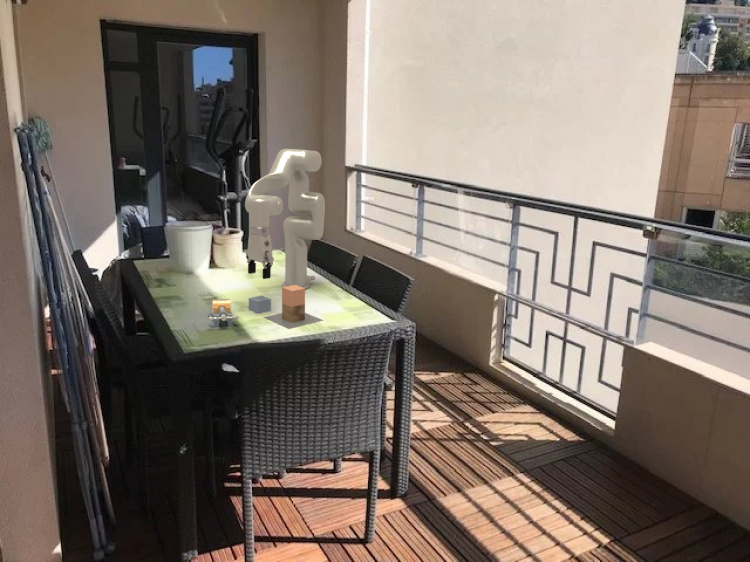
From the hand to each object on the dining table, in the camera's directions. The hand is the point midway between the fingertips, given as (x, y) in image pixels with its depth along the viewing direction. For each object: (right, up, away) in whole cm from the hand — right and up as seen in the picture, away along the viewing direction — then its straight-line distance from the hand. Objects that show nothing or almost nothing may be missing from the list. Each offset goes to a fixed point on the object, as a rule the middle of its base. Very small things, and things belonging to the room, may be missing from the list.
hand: (259, 275), depth 235 cm
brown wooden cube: (+13, -16, -4) cm, 21 cm away
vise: (-12, -17, -7) cm, 22 cm away
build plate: (+13, -17, -4) cm, 22 cm away
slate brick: (-1, -14, +4) cm, 15 cm away
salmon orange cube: (+14, -10, -6) cm, 18 cm away
